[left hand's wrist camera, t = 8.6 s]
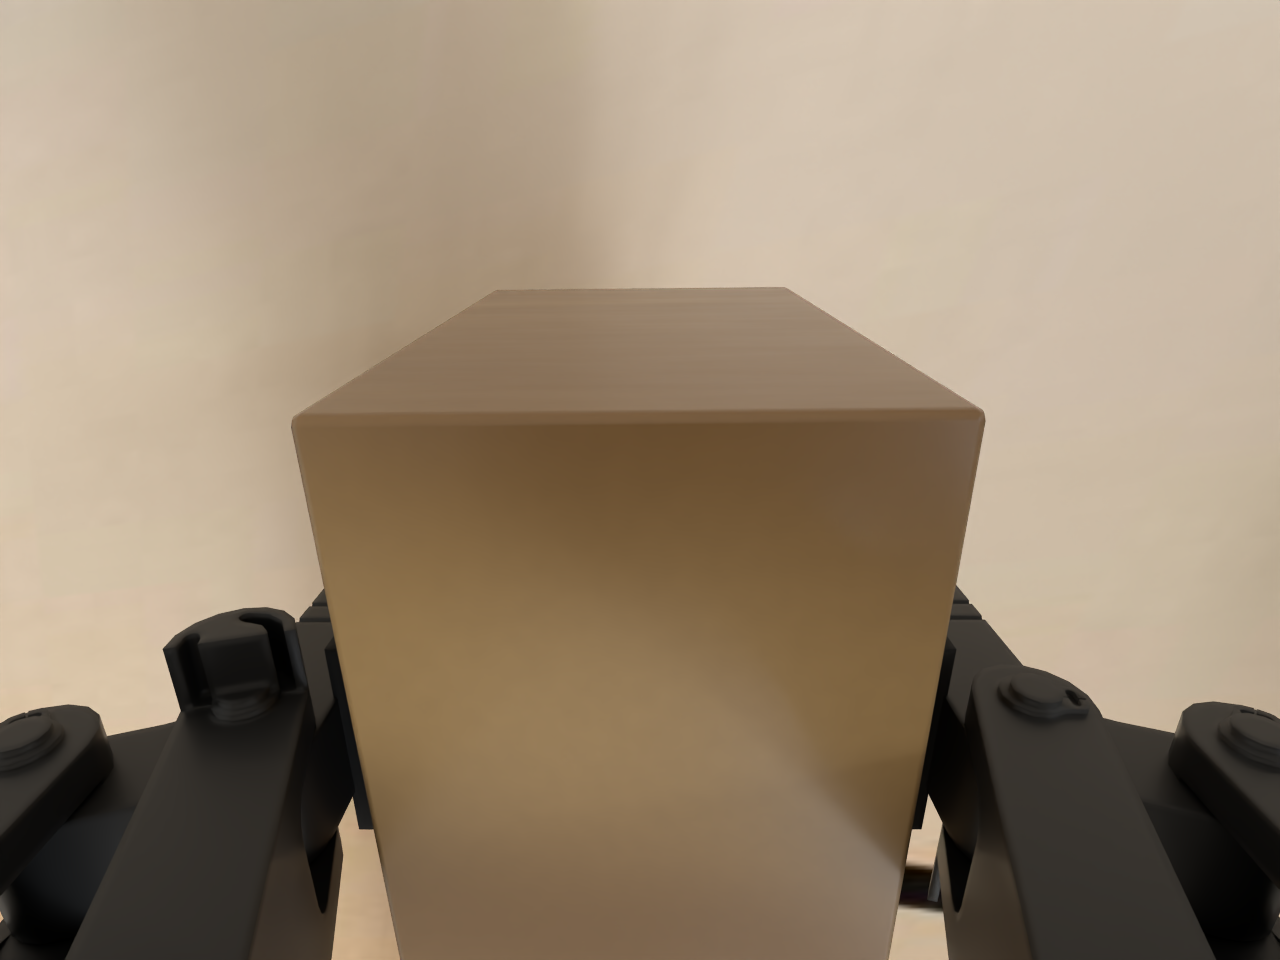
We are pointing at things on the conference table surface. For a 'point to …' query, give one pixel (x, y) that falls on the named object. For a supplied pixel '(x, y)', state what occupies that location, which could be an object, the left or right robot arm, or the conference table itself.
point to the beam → (641, 621)
